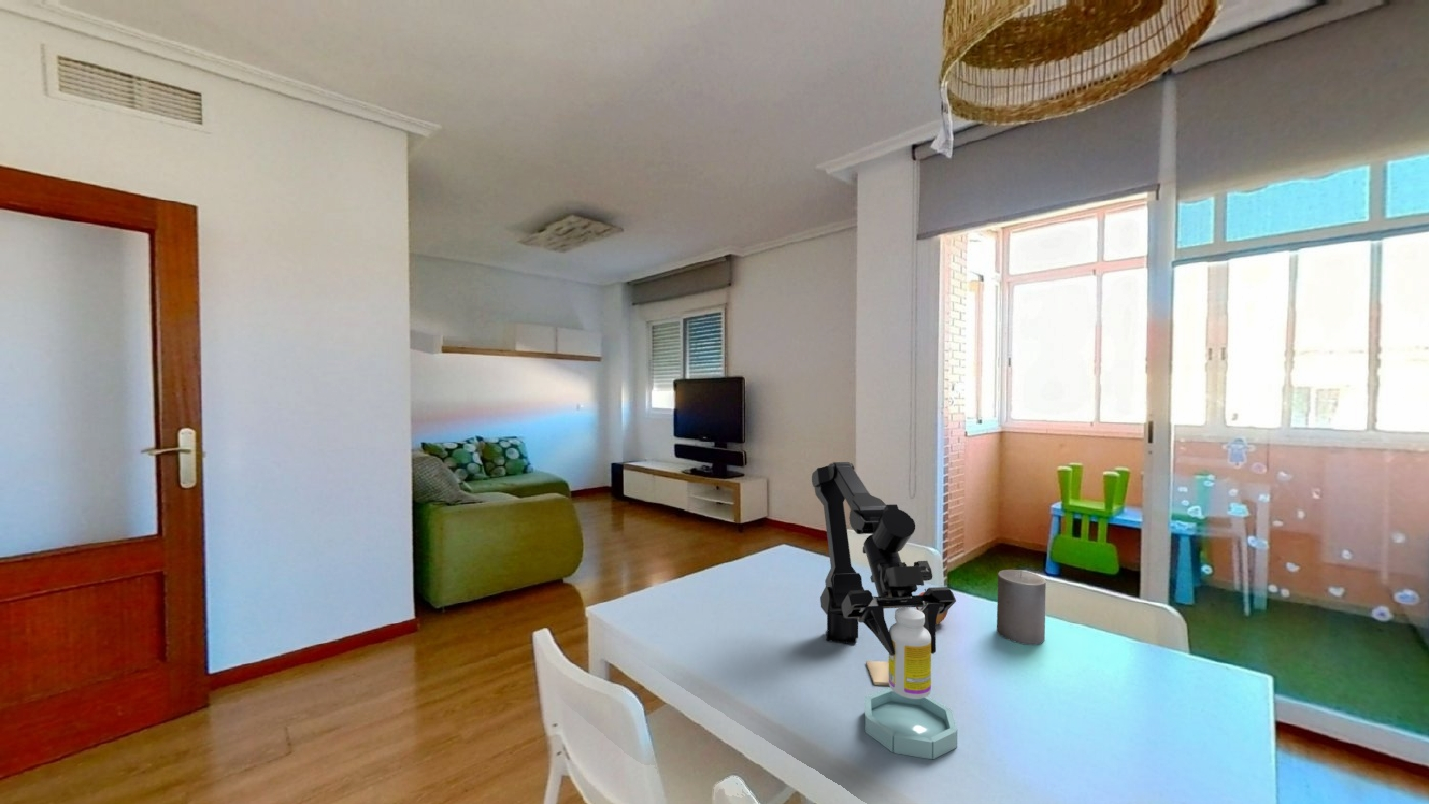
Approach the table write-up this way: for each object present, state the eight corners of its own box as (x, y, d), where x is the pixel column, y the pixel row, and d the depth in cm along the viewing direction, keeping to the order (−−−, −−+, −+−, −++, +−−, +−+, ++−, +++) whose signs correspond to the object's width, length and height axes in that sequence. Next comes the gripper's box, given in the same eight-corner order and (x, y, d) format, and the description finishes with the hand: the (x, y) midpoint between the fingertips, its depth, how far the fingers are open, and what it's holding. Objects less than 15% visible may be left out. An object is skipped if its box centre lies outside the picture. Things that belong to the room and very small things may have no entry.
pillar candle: (989, 625, 127) (989, 563, 127) (1030, 625, 127) (1031, 564, 126) (1010, 645, 117) (1011, 578, 117) (1055, 645, 117) (1056, 578, 117)
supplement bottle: (938, 691, 87) (939, 614, 87) (916, 706, 83) (917, 625, 83) (902, 674, 93) (903, 601, 92) (880, 687, 89) (880, 611, 88)
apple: (949, 630, 124) (949, 597, 124) (916, 626, 127) (916, 593, 127) (946, 618, 131) (946, 586, 131) (914, 614, 134) (915, 582, 134)
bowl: (865, 747, 83) (865, 731, 83) (864, 698, 97) (864, 684, 97) (962, 764, 79) (962, 747, 79) (947, 710, 93) (947, 696, 93)
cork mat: (874, 684, 101) (874, 681, 101) (866, 663, 109) (866, 660, 109) (928, 687, 100) (928, 684, 100) (916, 666, 108) (916, 663, 108)
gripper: (847, 544, 91) (872, 638, 80) (951, 541, 92) (989, 633, 82) (832, 574, 99) (853, 663, 88) (927, 570, 100) (959, 657, 90)
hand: (913, 653), depth 87 cm, fingers closed on supplement bottle, 7 cm apart
